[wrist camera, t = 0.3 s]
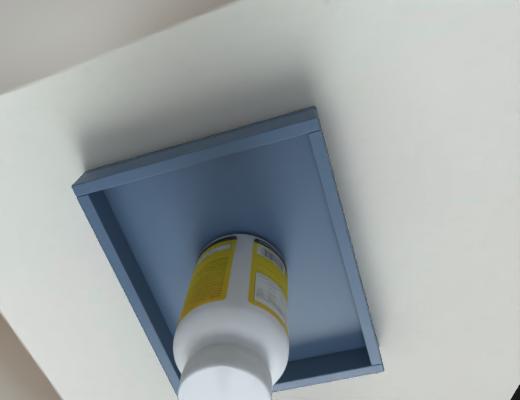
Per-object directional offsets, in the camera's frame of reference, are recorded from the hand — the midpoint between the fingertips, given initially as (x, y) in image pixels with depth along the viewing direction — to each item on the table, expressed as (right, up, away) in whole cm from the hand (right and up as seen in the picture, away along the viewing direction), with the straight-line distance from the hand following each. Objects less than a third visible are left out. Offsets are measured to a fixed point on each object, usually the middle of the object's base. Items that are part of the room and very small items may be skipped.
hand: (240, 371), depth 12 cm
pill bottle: (-1, -1, +23) cm, 23 cm away
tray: (-1, -1, +23) cm, 23 cm away
